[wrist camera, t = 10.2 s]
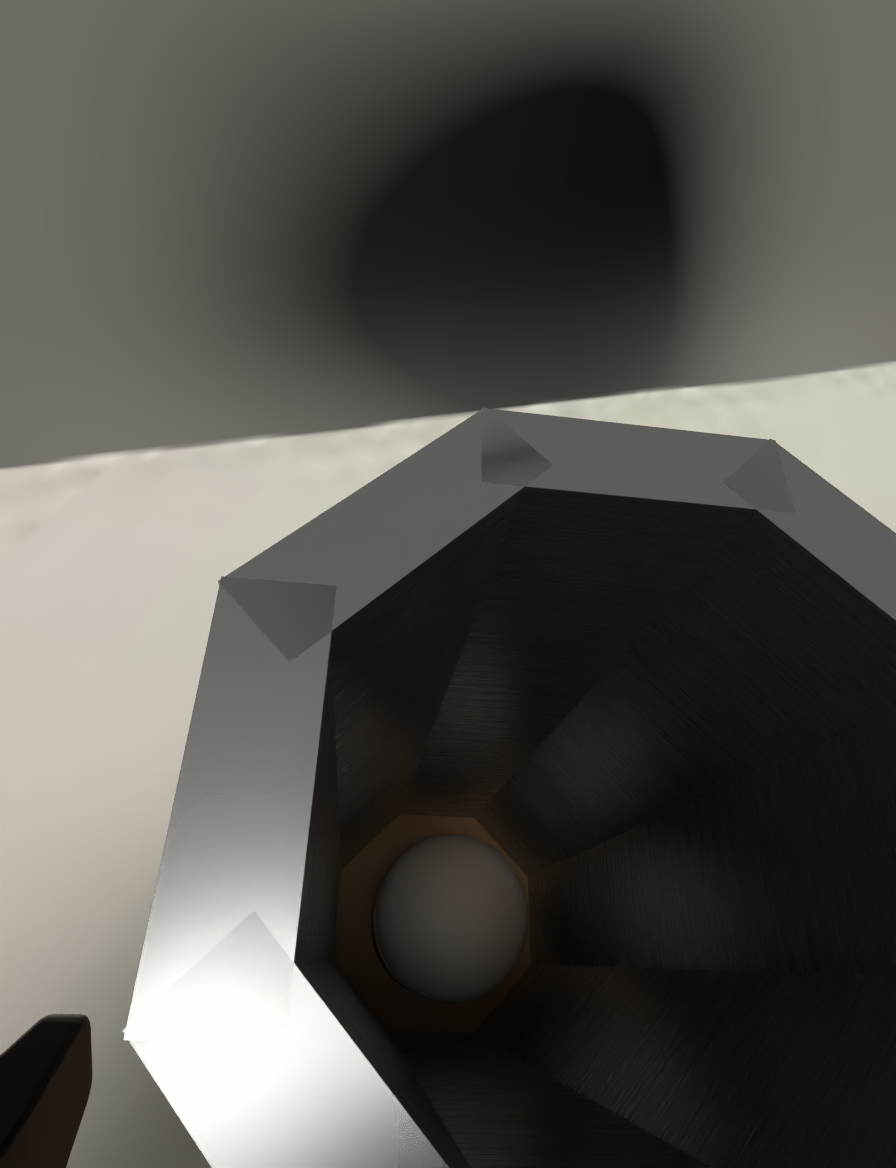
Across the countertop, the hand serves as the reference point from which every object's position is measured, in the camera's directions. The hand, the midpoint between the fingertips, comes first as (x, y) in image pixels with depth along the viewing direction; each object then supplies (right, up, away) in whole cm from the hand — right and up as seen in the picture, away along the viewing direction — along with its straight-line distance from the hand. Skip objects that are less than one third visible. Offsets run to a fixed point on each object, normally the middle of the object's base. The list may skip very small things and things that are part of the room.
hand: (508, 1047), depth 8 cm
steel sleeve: (-1, -2, +7) cm, 7 cm away
